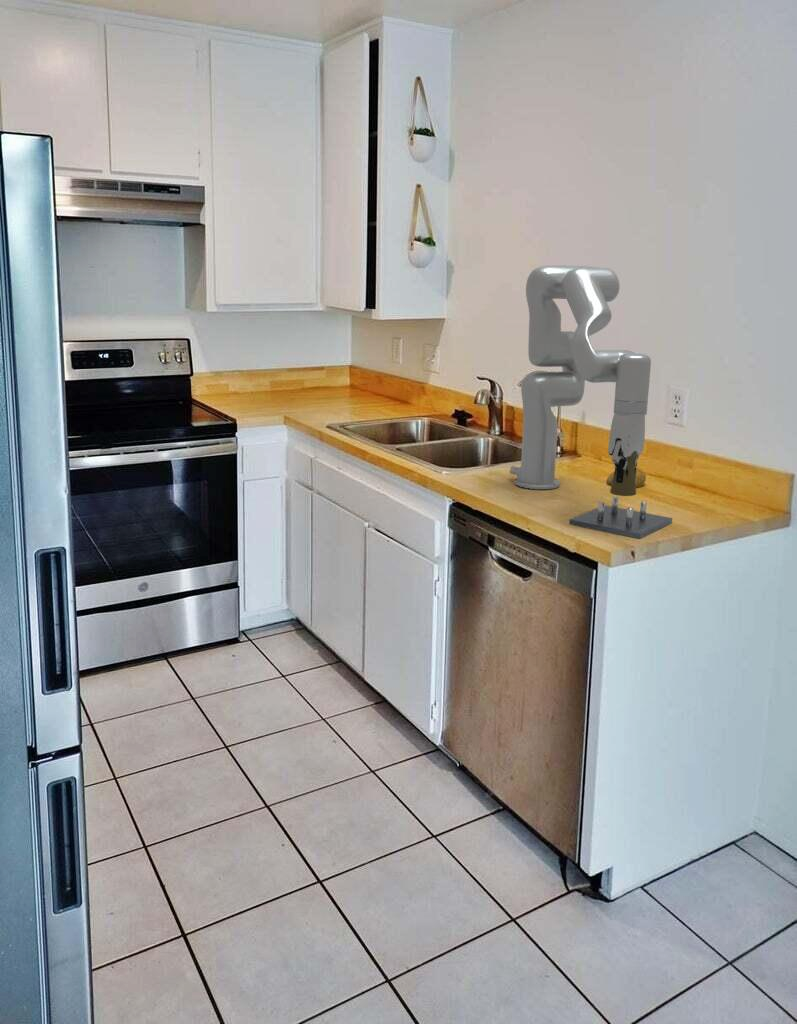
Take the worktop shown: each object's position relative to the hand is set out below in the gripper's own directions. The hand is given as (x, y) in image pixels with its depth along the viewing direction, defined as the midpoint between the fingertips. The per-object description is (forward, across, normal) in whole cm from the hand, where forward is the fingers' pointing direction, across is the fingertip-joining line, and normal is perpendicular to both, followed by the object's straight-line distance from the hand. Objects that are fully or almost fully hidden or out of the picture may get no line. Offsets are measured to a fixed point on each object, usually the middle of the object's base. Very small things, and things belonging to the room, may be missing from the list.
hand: (624, 483), depth 217 cm
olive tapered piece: (+2, 0, 0) cm, 2 cm away
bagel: (+10, -40, -18) cm, 45 cm away
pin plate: (+10, 0, 0) cm, 10 cm away
